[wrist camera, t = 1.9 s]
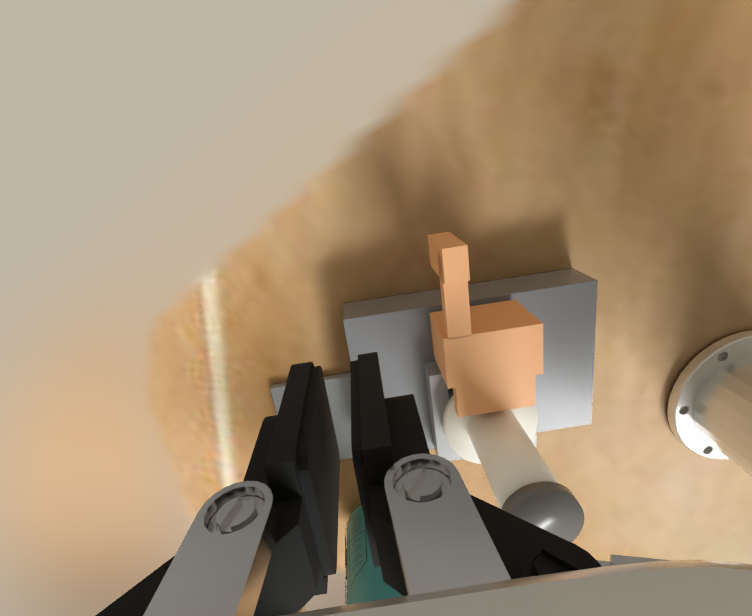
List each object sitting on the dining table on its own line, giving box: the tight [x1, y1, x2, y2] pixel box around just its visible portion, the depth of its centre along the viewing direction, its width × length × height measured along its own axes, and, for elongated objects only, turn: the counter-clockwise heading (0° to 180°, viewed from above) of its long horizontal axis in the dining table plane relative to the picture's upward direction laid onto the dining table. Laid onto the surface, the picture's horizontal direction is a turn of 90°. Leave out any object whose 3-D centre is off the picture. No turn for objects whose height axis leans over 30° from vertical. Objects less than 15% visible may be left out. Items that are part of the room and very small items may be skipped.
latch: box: [427, 232, 544, 417], centre depth 27 cm, size 6×11×5 cm, turn 8°
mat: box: [270, 372, 353, 460], centre depth 36 cm, size 8×8×1 cm
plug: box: [442, 394, 584, 542], centre depth 27 cm, size 6×6×12 cm
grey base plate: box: [343, 268, 597, 461], centre depth 32 cm, size 18×12×6 cm, turn 98°
